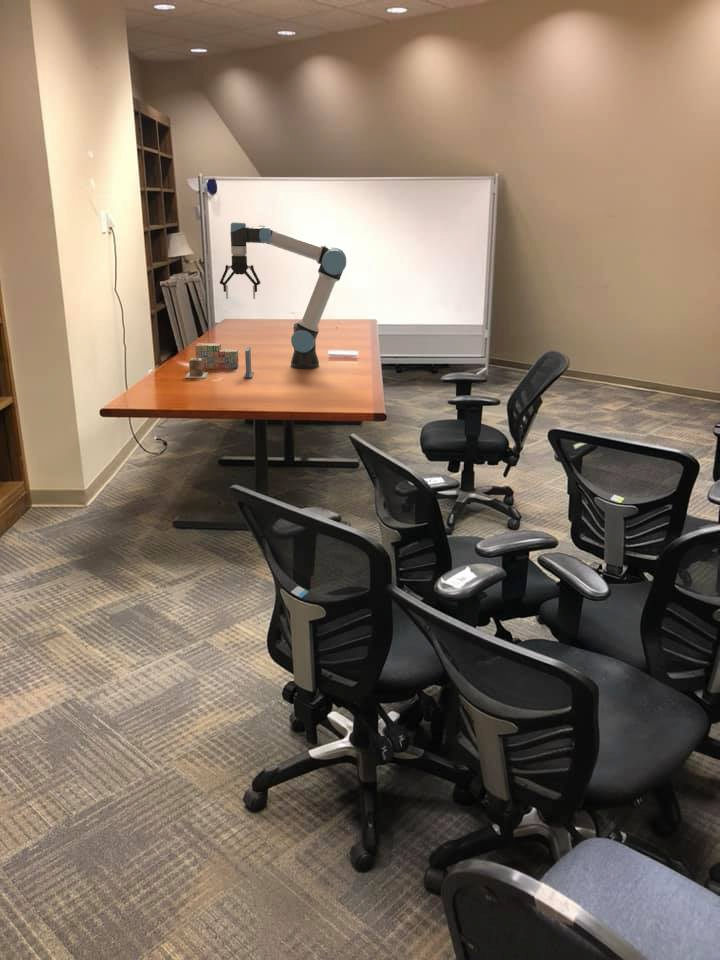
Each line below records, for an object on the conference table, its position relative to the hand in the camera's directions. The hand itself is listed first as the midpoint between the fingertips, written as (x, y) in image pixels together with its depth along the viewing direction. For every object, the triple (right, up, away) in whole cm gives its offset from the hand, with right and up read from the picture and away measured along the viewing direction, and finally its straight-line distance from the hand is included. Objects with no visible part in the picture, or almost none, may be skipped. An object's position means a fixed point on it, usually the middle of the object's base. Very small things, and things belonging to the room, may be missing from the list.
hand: (240, 298), depth 386 cm
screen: (+4, -39, 0) cm, 39 cm away
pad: (-22, -39, -2) cm, 45 cm away
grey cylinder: (-22, -39, -2) cm, 45 cm away
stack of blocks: (-15, -32, +19) cm, 40 cm away
